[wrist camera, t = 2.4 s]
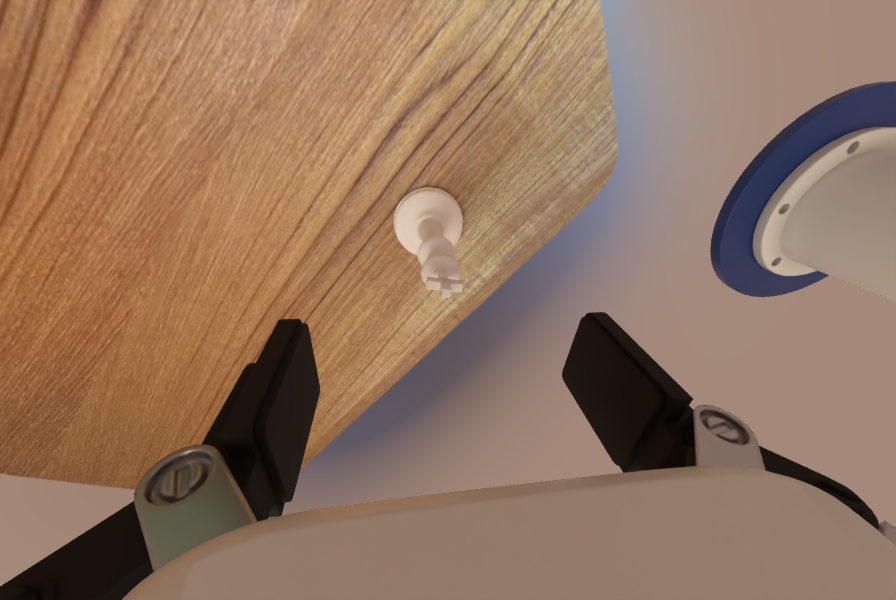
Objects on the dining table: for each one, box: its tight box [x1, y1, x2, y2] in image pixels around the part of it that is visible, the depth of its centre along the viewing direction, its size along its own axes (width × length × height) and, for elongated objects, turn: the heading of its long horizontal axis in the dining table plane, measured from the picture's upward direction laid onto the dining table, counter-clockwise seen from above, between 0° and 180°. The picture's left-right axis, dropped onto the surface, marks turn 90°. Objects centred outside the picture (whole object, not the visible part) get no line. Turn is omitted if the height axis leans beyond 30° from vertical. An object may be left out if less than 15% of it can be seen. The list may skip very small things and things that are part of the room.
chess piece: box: [393, 187, 463, 298], centre depth 18 cm, size 5×5×10 cm
